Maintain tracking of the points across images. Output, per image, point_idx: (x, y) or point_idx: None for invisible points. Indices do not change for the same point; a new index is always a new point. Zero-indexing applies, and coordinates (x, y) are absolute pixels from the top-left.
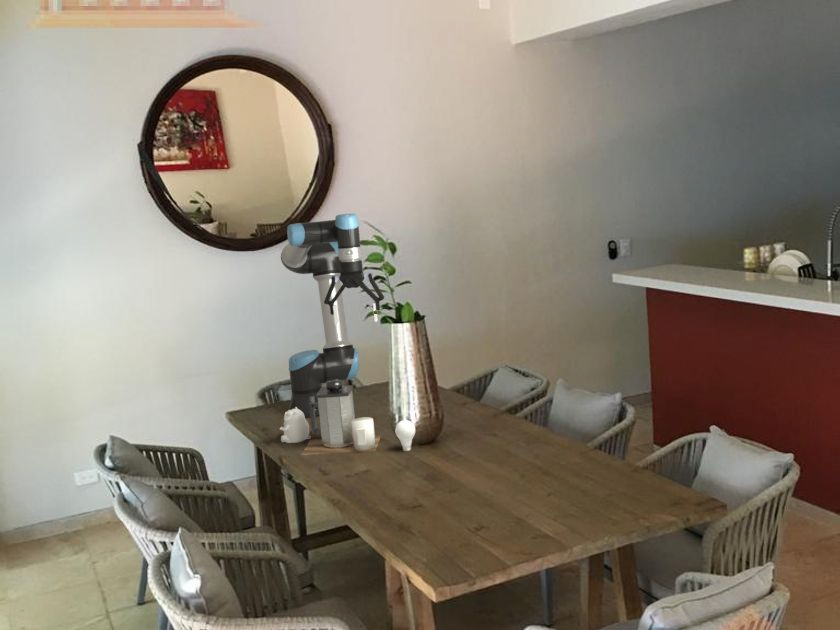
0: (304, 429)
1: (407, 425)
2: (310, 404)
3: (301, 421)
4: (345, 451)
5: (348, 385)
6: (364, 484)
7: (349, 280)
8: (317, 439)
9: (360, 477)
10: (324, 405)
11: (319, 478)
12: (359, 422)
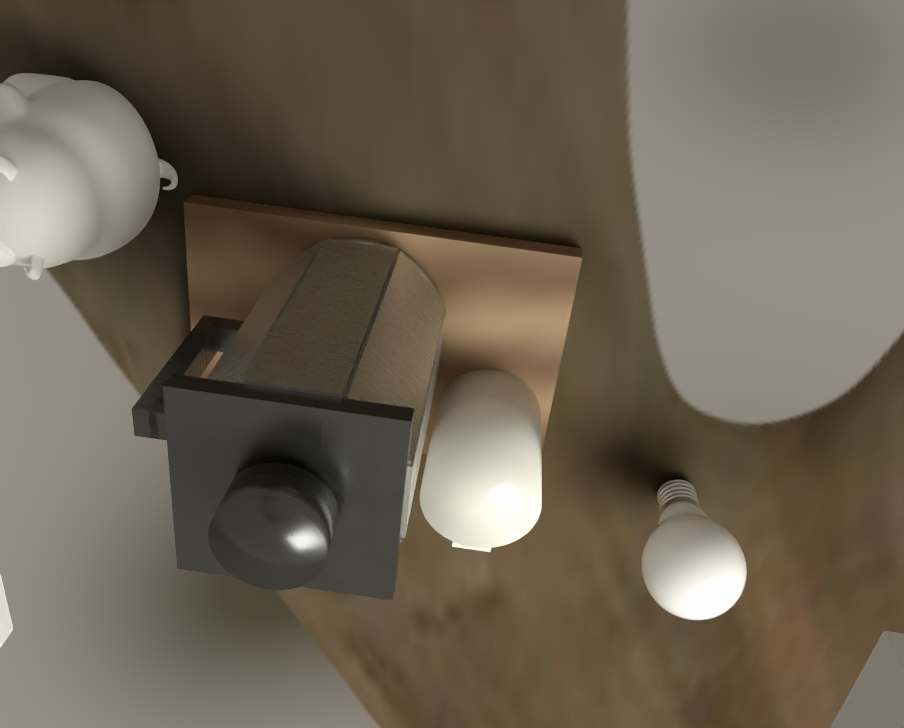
0: (134, 235)
1: (705, 619)
2: (142, 435)
3: (97, 243)
4: None
5: (379, 418)
6: (481, 694)
7: None
8: (225, 211)
9: (467, 643)
10: None
11: (320, 611)
12: (465, 531)
